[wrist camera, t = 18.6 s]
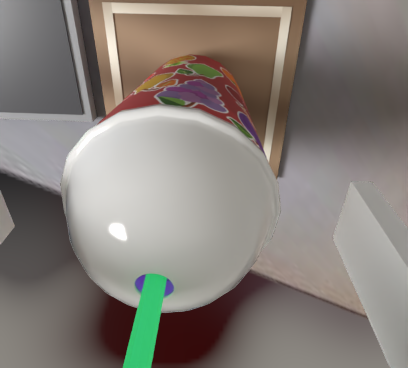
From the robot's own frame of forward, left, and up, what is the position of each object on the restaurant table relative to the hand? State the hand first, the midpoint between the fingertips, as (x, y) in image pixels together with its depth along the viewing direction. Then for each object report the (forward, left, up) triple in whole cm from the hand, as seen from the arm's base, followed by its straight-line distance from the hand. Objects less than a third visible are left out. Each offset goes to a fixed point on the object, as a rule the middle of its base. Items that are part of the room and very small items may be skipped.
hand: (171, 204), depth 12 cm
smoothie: (0, 0, -14) cm, 14 cm away
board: (0, 0, -14) cm, 14 cm away
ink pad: (-3, -13, -14) cm, 19 cm away
